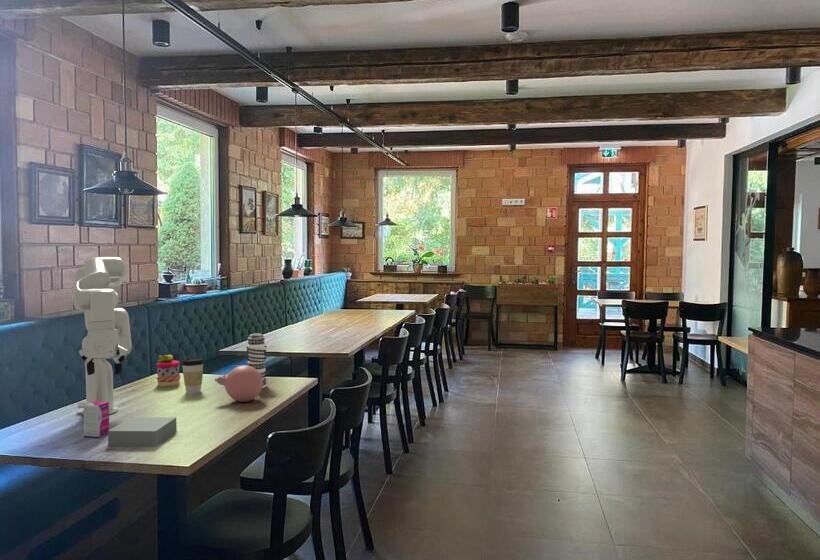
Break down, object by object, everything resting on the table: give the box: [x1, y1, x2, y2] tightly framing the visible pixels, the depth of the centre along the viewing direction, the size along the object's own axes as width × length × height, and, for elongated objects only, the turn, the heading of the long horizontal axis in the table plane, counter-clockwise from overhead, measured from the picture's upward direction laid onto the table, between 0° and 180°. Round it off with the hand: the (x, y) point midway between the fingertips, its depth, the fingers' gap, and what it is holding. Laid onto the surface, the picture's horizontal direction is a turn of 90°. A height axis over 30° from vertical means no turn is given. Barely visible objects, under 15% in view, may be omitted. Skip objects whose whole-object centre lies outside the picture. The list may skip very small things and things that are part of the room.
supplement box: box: [83, 401, 110, 439], centre depth 206 cm, size 6×6×12 cm
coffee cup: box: [180, 357, 205, 395], centre depth 268 cm, size 10×10×15 cm
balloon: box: [214, 364, 263, 403], centre depth 252 cm, size 15×20×15 cm
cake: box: [156, 354, 182, 388], centre depth 284 cm, size 10×11×15 cm
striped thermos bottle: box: [246, 333, 267, 389], centre depth 278 cm, size 9×9×25 cm
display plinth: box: [107, 416, 178, 447], centre depth 202 cm, size 16×16×5 cm
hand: (104, 374), depth 207 cm, fingers open, 9 cm apart
